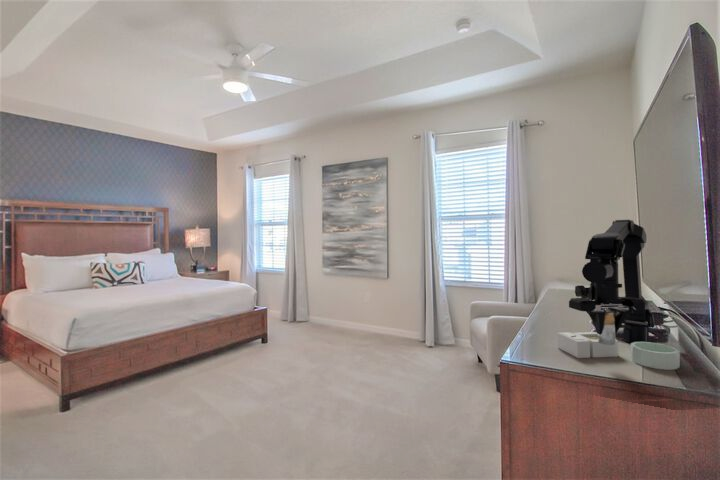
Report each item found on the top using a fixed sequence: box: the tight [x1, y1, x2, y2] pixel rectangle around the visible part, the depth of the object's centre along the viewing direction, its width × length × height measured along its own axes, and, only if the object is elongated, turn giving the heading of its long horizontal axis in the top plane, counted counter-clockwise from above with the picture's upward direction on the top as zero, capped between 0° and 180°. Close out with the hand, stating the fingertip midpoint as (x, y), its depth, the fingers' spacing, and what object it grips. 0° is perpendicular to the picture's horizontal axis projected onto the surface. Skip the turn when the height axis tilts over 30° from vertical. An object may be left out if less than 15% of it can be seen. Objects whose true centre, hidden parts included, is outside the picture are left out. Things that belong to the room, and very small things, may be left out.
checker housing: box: [556, 331, 619, 359], centre depth 113 cm, size 10×14×5 cm
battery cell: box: [598, 308, 616, 345], centre depth 101 cm, size 4×4×10 cm
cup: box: [630, 341, 681, 371], centre depth 103 cm, size 11×11×4 cm
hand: (606, 333), depth 101 cm, fingers closed on battery cell, 4 cm apart
